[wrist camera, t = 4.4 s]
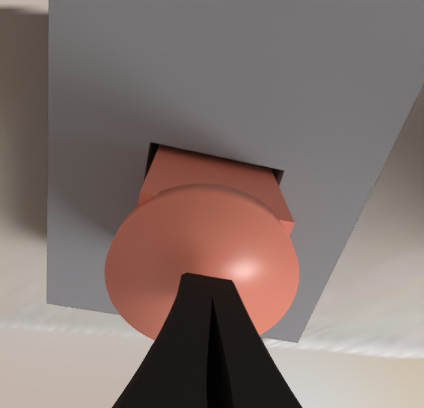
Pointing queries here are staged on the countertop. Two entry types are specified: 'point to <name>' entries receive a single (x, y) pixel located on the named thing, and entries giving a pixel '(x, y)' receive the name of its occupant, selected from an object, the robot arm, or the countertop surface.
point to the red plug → (203, 239)
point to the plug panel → (222, 117)
